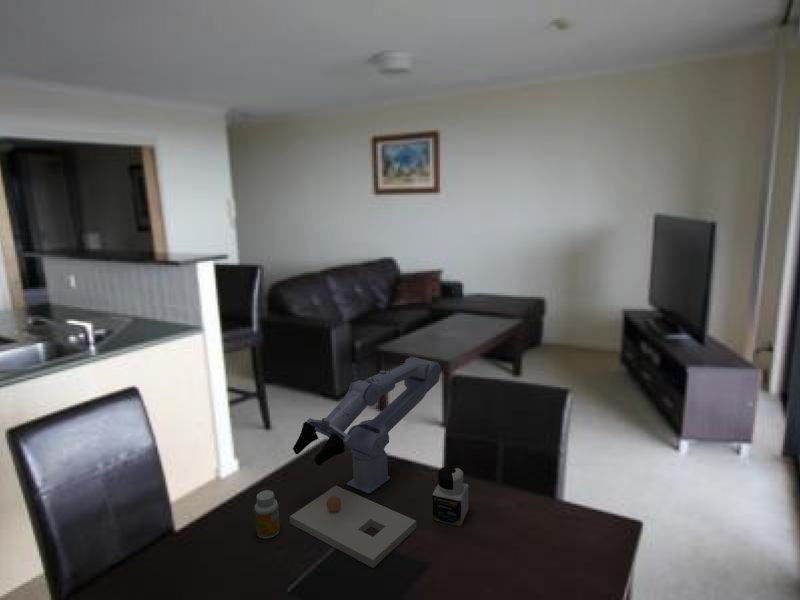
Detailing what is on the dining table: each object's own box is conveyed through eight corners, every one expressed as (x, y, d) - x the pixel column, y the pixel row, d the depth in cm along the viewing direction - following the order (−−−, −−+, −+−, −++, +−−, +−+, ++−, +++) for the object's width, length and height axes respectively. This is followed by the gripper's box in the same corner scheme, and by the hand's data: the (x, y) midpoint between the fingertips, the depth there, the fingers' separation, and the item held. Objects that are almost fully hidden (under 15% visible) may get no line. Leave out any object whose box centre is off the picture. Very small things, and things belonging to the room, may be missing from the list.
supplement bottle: (251, 535, 121) (248, 498, 119) (267, 522, 126) (264, 486, 123) (269, 542, 118) (266, 504, 116) (284, 528, 123) (281, 491, 121)
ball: (333, 503, 129) (333, 491, 128) (344, 508, 127) (343, 495, 126) (323, 510, 126) (323, 498, 125) (334, 515, 124) (333, 502, 123)
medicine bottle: (432, 520, 125) (431, 475, 122) (441, 503, 131) (440, 460, 129) (461, 526, 122) (461, 481, 119) (468, 509, 128) (468, 465, 126)
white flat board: (290, 523, 125) (289, 516, 124) (336, 492, 137) (335, 485, 137) (373, 568, 109) (372, 560, 109) (416, 528, 122) (416, 520, 121)
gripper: (317, 397, 133) (279, 435, 125) (358, 414, 124) (321, 456, 116) (326, 416, 136) (290, 454, 128) (366, 434, 128) (330, 476, 120)
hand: (305, 457), depth 122 cm, fingers open, 7 cm apart
